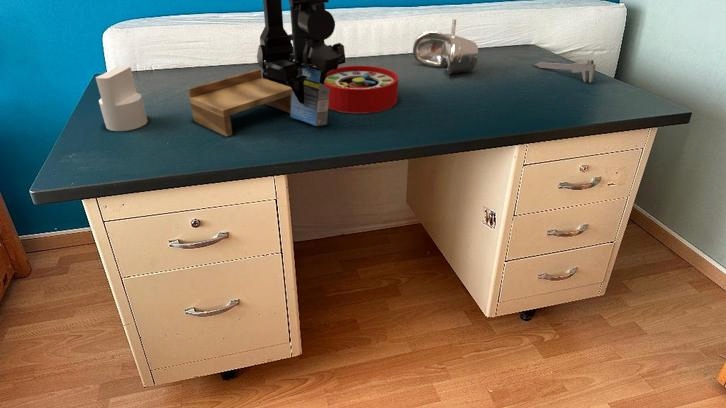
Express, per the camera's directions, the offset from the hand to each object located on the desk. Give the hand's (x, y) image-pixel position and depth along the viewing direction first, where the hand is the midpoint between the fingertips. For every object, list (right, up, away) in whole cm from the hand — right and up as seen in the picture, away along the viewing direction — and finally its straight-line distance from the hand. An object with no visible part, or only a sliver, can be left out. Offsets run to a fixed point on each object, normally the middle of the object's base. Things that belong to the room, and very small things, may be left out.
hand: (309, 100), depth 115 cm
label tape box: (-1, -4, +2) cm, 5 cm away
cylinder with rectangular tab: (-43, -5, +2) cm, 43 cm away
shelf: (-16, -3, +6) cm, 17 cm away
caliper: (+71, +15, +35) cm, 80 cm away
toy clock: (+11, +4, +16) cm, 20 cm away
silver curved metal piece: (+36, +18, +39) cm, 56 cm away
